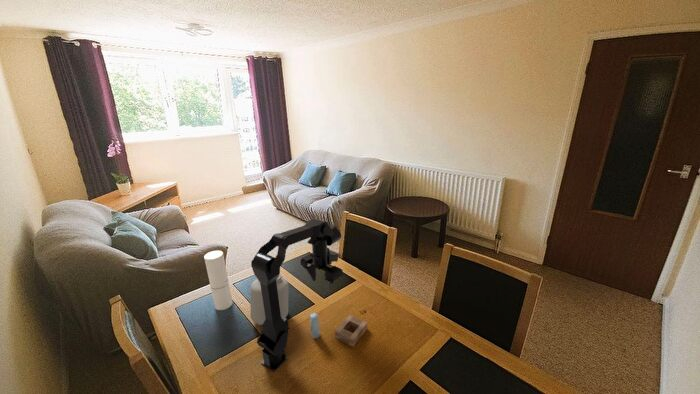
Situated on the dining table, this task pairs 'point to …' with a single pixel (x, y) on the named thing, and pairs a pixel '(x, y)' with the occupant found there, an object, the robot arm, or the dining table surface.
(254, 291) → the jar
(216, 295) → the cylindrical container
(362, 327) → the socket block
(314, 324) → the dowel
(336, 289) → the dining table surface
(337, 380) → the dining table surface
